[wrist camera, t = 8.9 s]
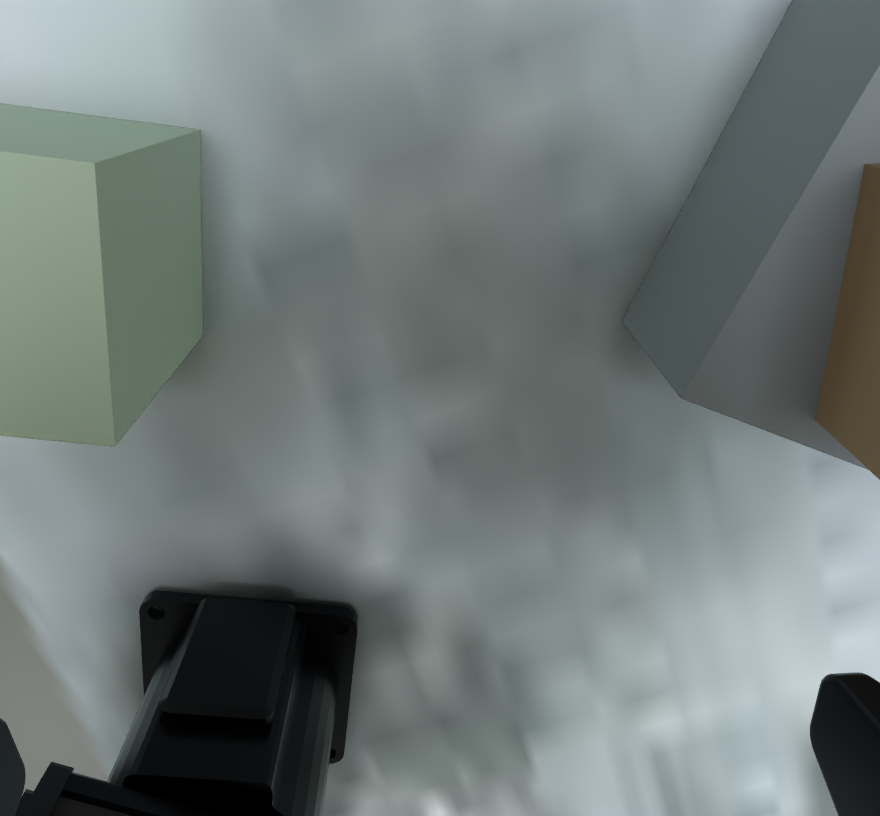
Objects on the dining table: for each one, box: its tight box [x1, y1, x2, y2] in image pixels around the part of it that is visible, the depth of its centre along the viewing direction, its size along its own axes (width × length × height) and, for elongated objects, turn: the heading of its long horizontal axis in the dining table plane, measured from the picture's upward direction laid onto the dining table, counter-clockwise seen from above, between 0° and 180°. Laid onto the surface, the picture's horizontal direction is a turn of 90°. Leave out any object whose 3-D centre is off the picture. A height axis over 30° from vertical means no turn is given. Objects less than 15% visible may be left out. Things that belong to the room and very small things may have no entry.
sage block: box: [0, 103, 203, 447], centre depth 15 cm, size 5×5×6 cm
